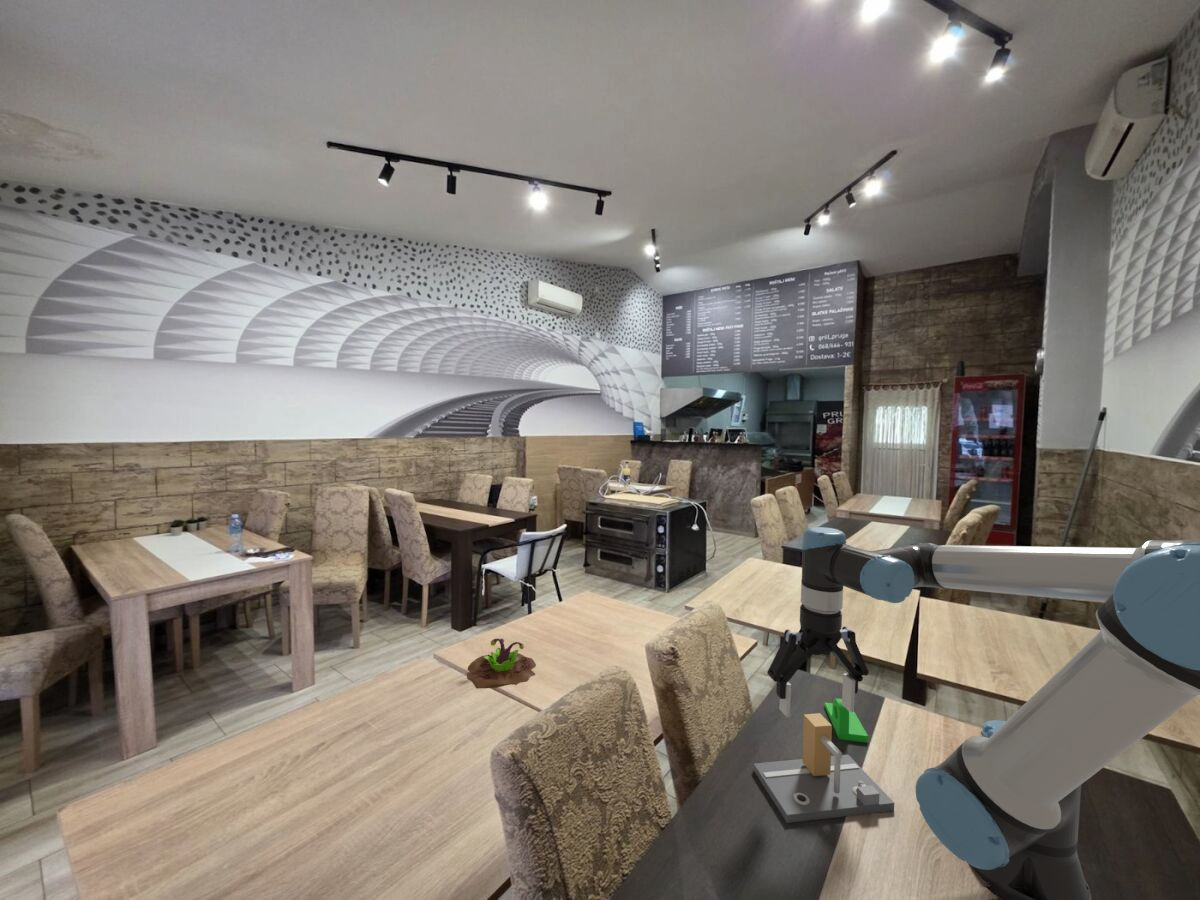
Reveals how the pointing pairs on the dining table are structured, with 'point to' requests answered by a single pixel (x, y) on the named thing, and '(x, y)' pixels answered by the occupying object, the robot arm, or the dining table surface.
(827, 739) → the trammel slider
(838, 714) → the mechanical part
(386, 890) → the dining table surface
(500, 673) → the plant
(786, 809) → the plate
